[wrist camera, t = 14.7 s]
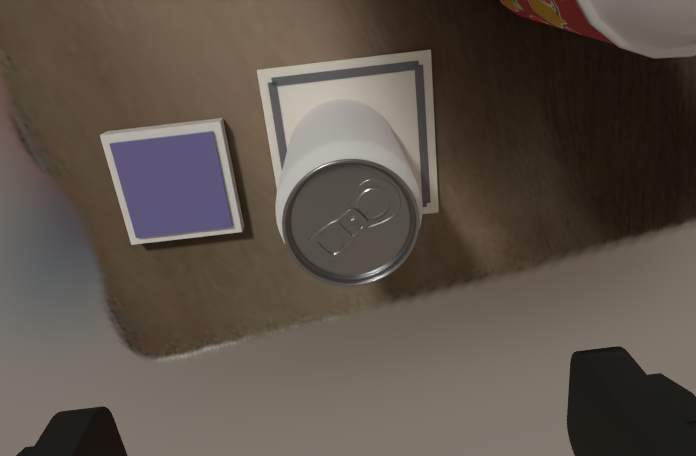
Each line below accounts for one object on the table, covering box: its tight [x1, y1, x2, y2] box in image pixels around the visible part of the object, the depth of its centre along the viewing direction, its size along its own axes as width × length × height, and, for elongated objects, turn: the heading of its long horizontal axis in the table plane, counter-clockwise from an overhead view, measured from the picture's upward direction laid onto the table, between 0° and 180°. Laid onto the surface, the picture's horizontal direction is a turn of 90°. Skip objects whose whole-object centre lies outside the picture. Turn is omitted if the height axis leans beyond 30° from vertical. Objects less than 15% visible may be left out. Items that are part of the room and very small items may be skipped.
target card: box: [257, 49, 439, 214], centre depth 33 cm, size 10×10×1 cm
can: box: [276, 99, 423, 287], centre depth 28 cm, size 6×6×12 cm
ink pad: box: [100, 118, 244, 245], centre depth 33 cm, size 7×7×1 cm
